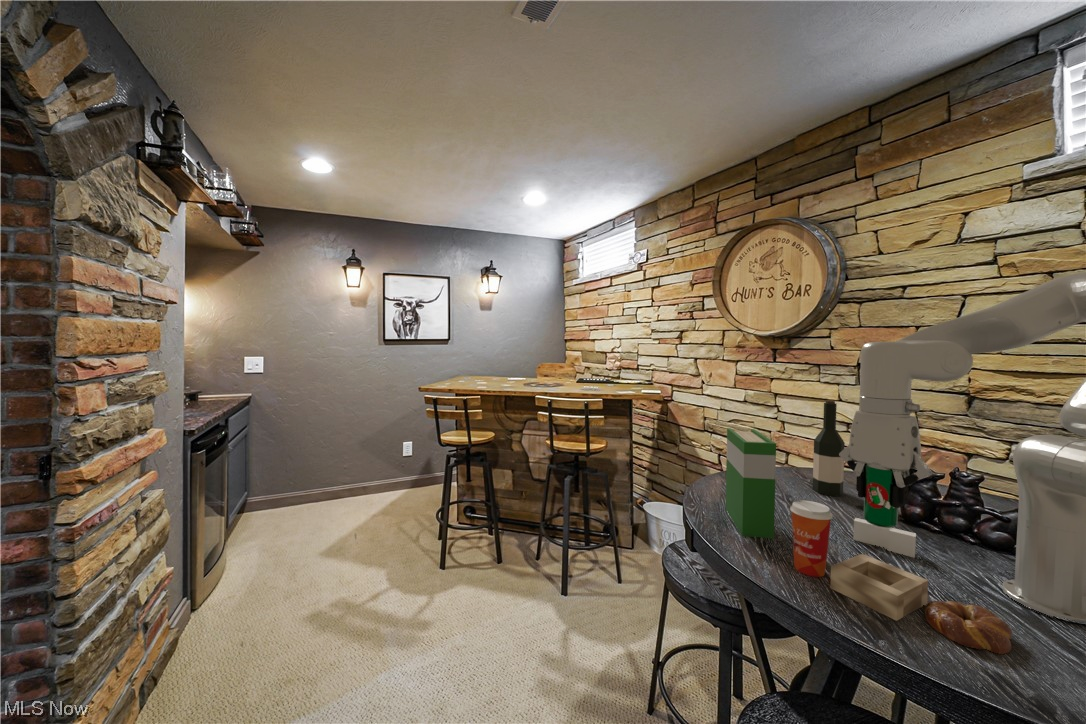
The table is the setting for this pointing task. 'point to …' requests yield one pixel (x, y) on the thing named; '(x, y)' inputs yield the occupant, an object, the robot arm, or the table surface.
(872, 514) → the soda can
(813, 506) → the paper cup
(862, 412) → the robot arm
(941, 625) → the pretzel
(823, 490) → the wine bottle
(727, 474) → the hardback book
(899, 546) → the white stepped block
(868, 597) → the holder
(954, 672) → the table surface
